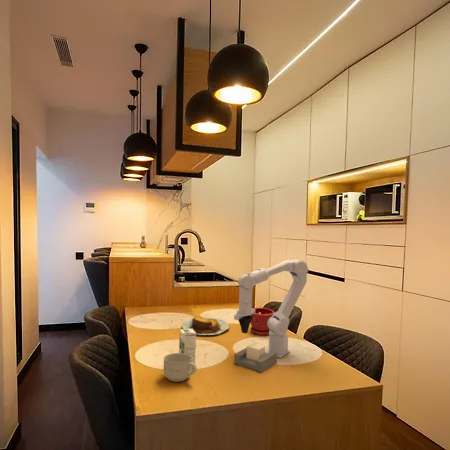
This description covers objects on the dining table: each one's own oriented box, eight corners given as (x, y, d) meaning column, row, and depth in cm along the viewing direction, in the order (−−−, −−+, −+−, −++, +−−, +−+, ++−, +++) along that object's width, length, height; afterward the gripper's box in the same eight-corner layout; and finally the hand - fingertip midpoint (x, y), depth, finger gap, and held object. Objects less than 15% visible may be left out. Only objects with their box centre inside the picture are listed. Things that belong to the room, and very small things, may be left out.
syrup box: (178, 364, 138) (178, 329, 138) (191, 362, 140) (192, 327, 140) (181, 370, 132) (182, 333, 132) (195, 368, 135) (196, 332, 134)
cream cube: (252, 357, 145) (252, 342, 145) (264, 361, 142) (264, 346, 142) (246, 361, 141) (246, 346, 141) (258, 365, 138) (258, 349, 138)
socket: (250, 354, 150) (250, 345, 150) (276, 362, 143) (276, 352, 143) (234, 363, 140) (234, 354, 140) (261, 372, 132) (261, 362, 132)
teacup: (157, 377, 126) (157, 356, 126) (180, 369, 133) (181, 349, 133) (179, 391, 116) (180, 368, 116) (203, 381, 123) (204, 360, 123)
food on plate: (235, 326, 191) (235, 314, 191) (218, 340, 168) (218, 327, 168) (194, 320, 201) (194, 309, 201) (172, 332, 177) (173, 320, 177)
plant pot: (244, 331, 181) (244, 309, 181) (260, 327, 190) (261, 306, 190) (262, 338, 172) (263, 315, 172) (278, 333, 180) (279, 311, 180)
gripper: (246, 297, 156) (245, 326, 156) (228, 303, 144) (227, 334, 145) (259, 300, 152) (258, 330, 152) (242, 306, 140) (241, 338, 140)
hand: (244, 332), depth 148 cm, fingers closed
